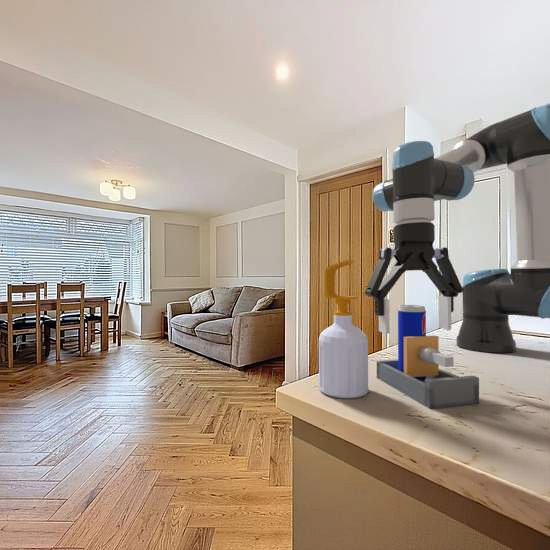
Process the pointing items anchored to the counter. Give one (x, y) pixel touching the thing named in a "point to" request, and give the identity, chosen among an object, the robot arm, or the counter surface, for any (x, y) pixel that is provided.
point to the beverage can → (410, 329)
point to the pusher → (424, 356)
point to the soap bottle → (342, 348)
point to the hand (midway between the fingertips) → (415, 330)
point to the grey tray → (431, 386)
